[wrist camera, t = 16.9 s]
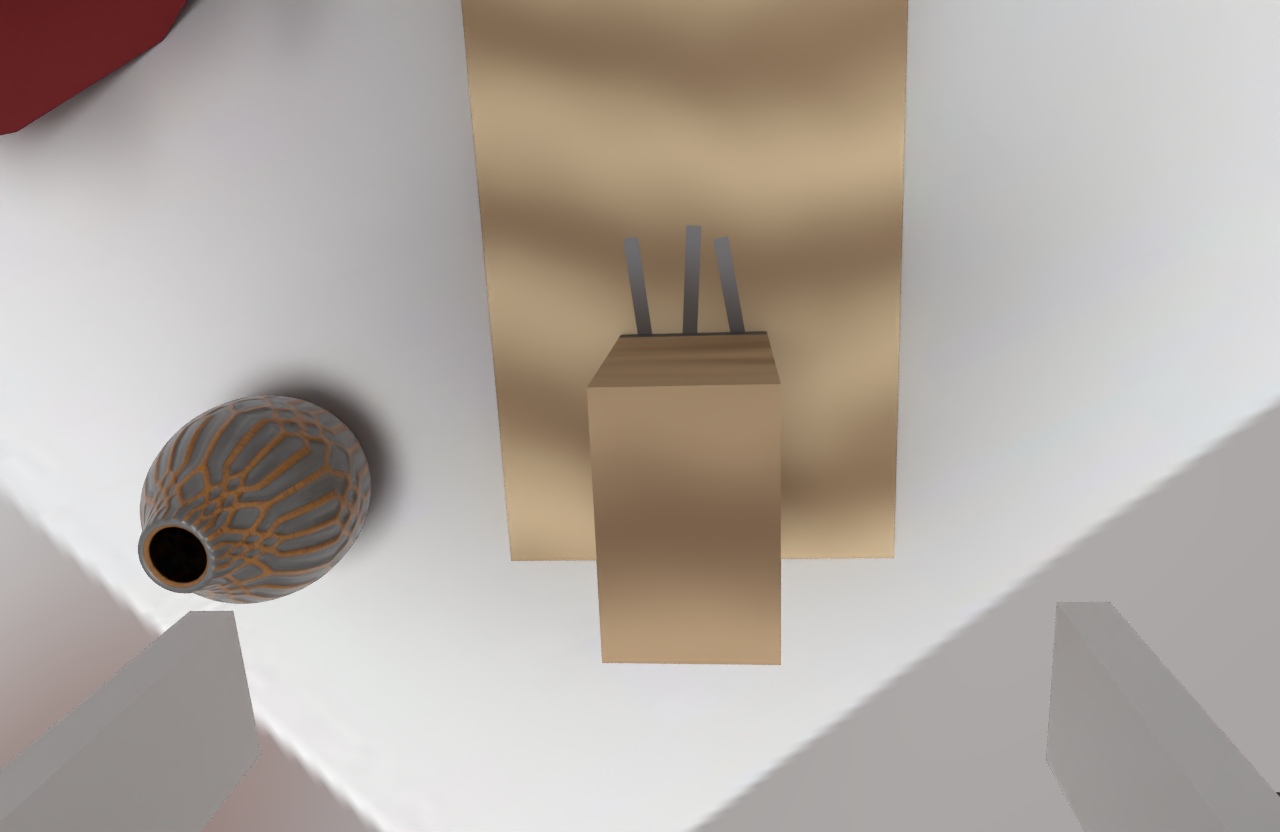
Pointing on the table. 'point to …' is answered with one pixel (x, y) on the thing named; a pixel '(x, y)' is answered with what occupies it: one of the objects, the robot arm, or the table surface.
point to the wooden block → (688, 498)
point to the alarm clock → (69, 48)
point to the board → (694, 233)
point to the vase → (253, 500)
